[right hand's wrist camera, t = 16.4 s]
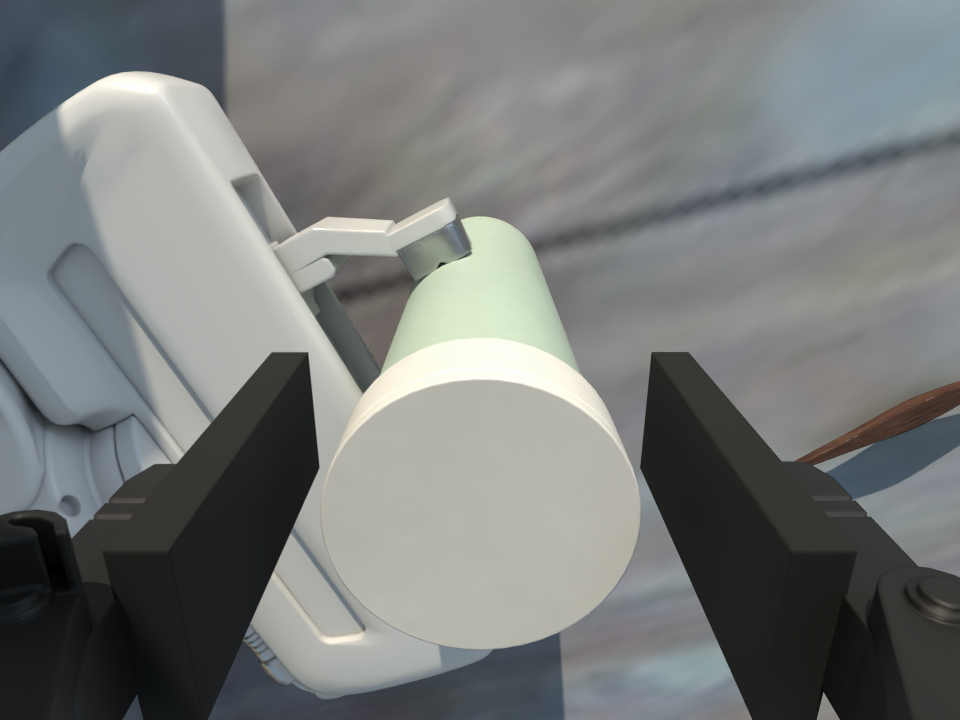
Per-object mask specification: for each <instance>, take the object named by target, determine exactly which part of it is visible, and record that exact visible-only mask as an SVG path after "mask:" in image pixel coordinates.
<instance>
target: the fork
mask: <svg viewBox="0 0 960 720" xmlns="http://www.w3.org/2000/svg"><path fill="white" fill-rule="evenodd" d="M958 405H960V381H958V382H955V383H952V384H949V385H946V386H944V387H941V388H938V389H935V390H932V391H929V392H927V393H924V394H921V395H919V396H916V397H914V398H912V399H909V400H907V401H905V402H903V403H901V404H899V405H897V406H895V407H893V408H891V409H889V410H887V411H886V412H884V413H882V414H880V415H879V416H877V417H875V418H873V419H872V420H870V421H868V422H866V423H865V424H863V425H861V426H859V427H858V428H856V429H854V430H852V431H850V432H849V433H847V434H845V435H843V436H841V437H839V438H837V439H835V440H834V441H832V442H830V443H828V444H826V445H824V446H822V447H820V448H818V449H816V450H814V451H812V452H811V453H809V454H807V455H805V456H803V457H801V458H800V459H798V460H796V461H794V462H807V463H809V464H811V465H812V466H813V465H815V464H818V463H821V462H824V461H826V460H829V459H832V458H834V457H837V456H840V455H842V454H845V453H848V452H851V451H853V450H856V449H859V448H862V447H865V446H867V445H870V444H873V443H876V442H879V441H882V440H885V439H887V438H890V437H893V436H896V435H899V434H901V433H904V432H907V431H909V430H911V429H914V428H916V427H918V426H921V425H923V424H925V423H927V422H929V421H931V420H933V419H935V418H937V417H938V416H940V415H942V414H944V413H946V412H948V411H949V410H951V409H953V408H955V407H956V406H958Z"/></svg>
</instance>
